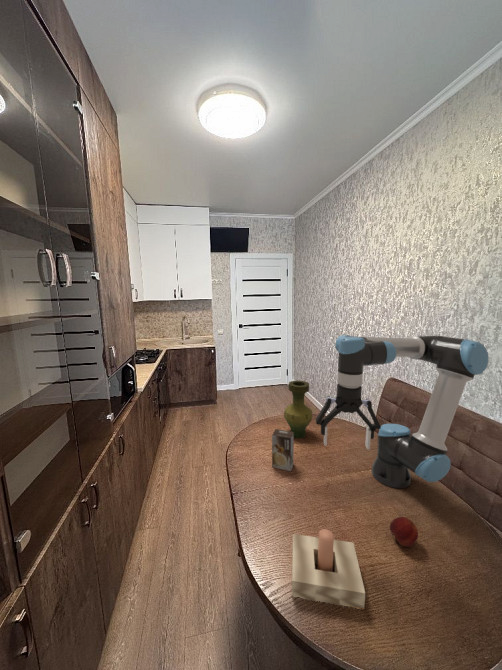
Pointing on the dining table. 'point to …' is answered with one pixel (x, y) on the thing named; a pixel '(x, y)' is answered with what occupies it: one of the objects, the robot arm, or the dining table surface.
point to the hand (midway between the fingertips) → (346, 445)
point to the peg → (325, 550)
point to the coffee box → (282, 449)
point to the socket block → (326, 573)
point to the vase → (298, 409)
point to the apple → (404, 531)
